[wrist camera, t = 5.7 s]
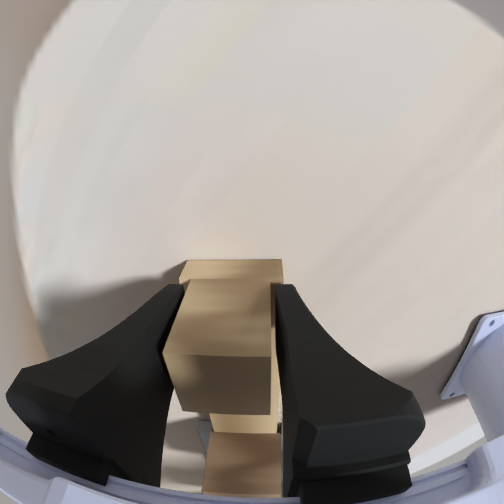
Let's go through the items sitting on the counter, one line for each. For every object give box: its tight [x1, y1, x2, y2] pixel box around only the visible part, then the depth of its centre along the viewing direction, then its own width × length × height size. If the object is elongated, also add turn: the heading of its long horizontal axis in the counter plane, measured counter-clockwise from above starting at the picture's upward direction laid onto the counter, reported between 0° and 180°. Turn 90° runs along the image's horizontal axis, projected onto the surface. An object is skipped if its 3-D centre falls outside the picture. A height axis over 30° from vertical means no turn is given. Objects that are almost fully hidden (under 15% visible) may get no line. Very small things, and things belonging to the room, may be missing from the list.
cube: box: [202, 431, 281, 498], centre depth 15 cm, size 4×4×4 cm
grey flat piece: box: [198, 420, 283, 487], centre depth 20 cm, size 13×13×2 cm
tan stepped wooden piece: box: [163, 259, 283, 433], centre depth 14 cm, size 4×16×6 cm, turn 2°
